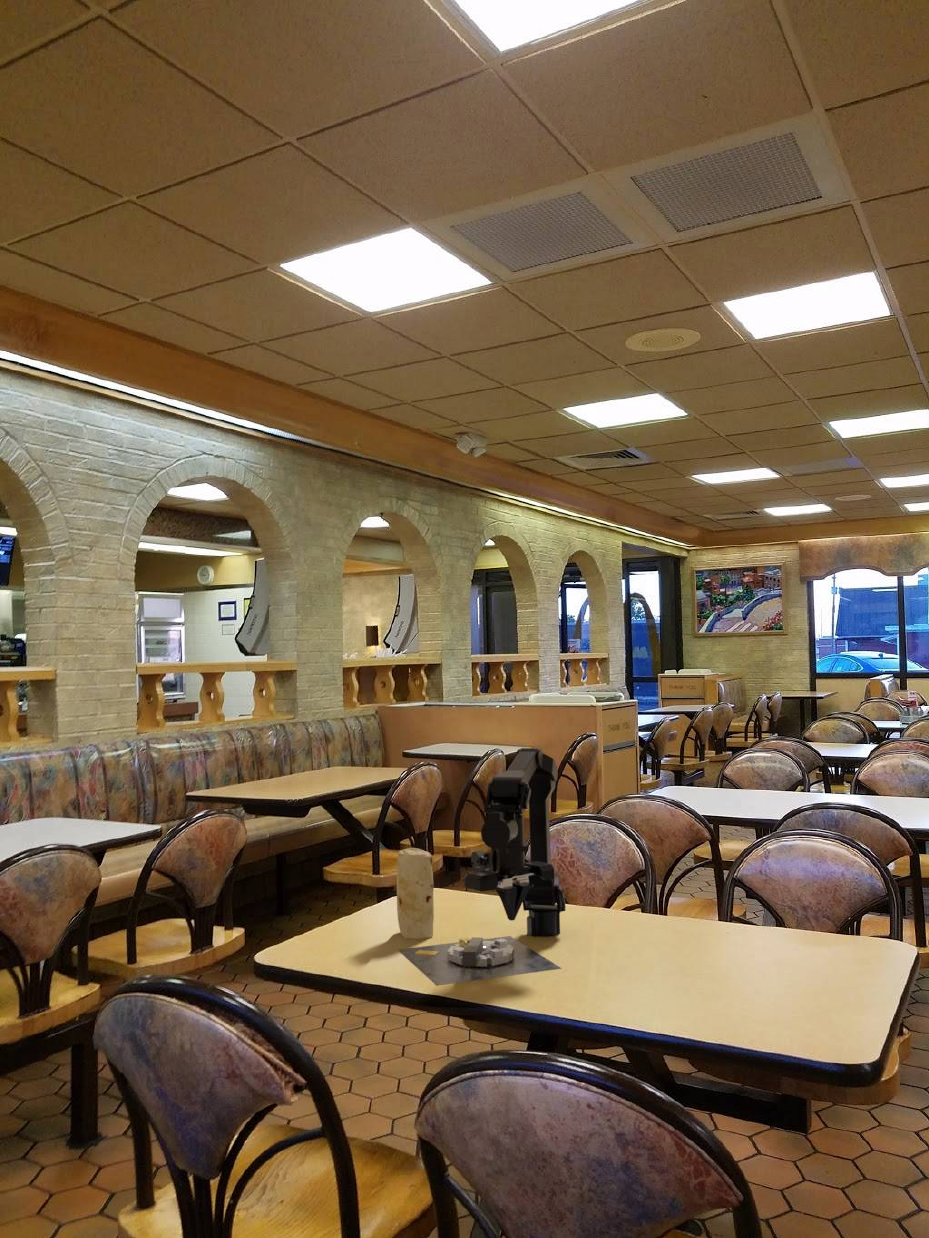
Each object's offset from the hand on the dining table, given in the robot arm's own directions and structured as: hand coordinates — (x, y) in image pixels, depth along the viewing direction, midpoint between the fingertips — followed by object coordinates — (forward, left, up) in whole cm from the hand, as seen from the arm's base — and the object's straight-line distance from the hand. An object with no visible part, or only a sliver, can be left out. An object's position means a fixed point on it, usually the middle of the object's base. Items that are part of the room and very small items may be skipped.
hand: (511, 919), depth 192 cm
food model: (+10, -33, -11) cm, 36 cm away
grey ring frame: (+5, -7, -9) cm, 12 cm away
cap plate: (+4, -10, -11) cm, 15 cm away
